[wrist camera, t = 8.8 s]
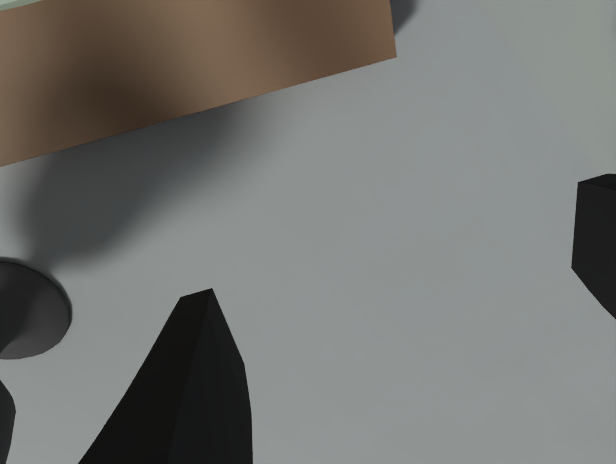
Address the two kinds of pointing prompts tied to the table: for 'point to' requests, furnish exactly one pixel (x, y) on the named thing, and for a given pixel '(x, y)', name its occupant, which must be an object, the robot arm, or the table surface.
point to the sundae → (26, 329)
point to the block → (14, 3)
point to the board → (165, 60)
